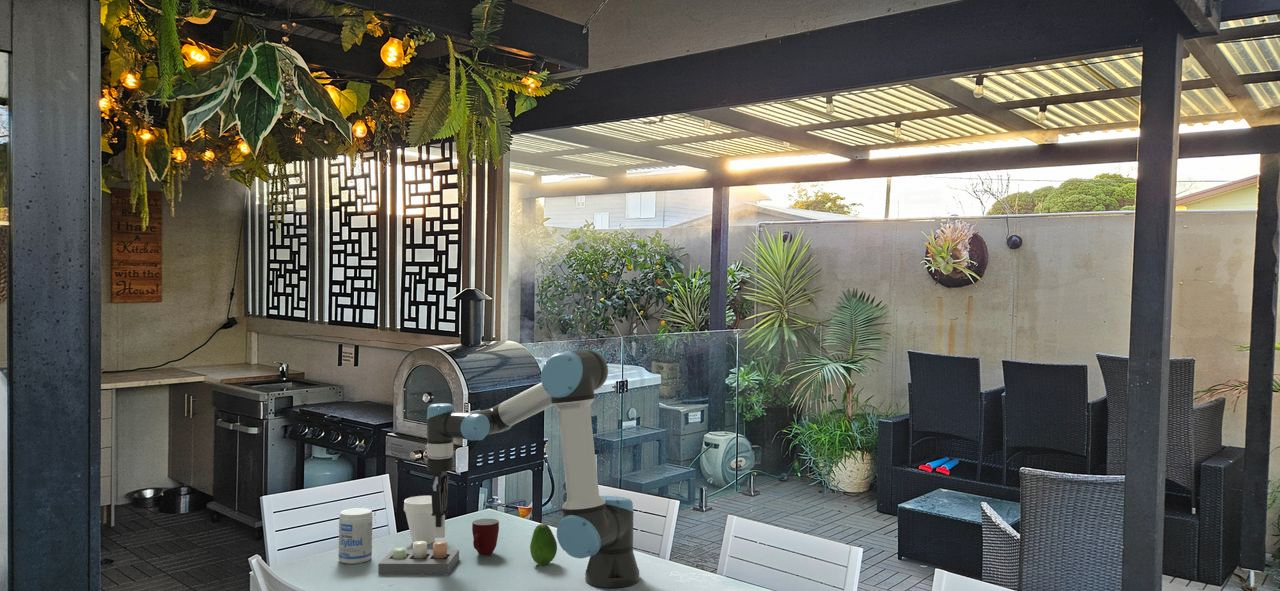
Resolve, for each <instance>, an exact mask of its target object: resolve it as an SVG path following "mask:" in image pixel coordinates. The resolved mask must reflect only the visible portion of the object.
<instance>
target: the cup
mask: <svg viewBox="0 0 1280 591" xmlns="http://www.w3.org/2000/svg"><path fill="white" fill-rule="evenodd" d="M403 502H404V503H403V512H405V515H406V521H407V525H408V528H409V532H410V537H411V542H412V544H413V543H414V542H416V541H426V542H427V545H430V544H433V543H434V542H435V540H436V538H434V524H435V516H432V497H431V495H417V496H410V497H408V498H405V499H404V500H403Z"/></svg>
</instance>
